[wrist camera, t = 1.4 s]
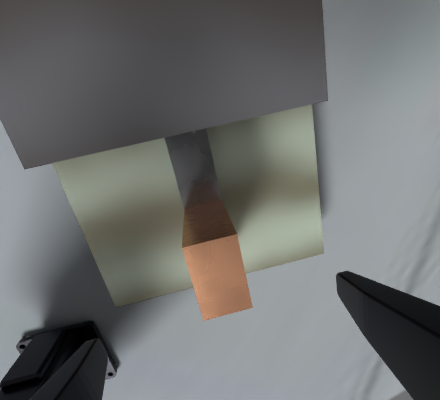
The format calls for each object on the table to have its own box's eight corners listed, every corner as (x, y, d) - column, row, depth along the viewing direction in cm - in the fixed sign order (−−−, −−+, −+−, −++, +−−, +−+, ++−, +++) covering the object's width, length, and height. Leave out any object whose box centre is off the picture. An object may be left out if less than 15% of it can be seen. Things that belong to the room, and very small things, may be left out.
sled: (256, 242, 17) (288, 297, 12) (173, 263, 17) (166, 330, 11) (205, -37, 12) (219, -175, 6) (84, -15, 12) (-8, -139, 6)
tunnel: (305, 235, 21) (400, 326, 12) (126, 281, 20) (71, 419, 11) (263, -164, 13) (453, -900, 4) (-36, -115, 12) (-776, -903, 3)
